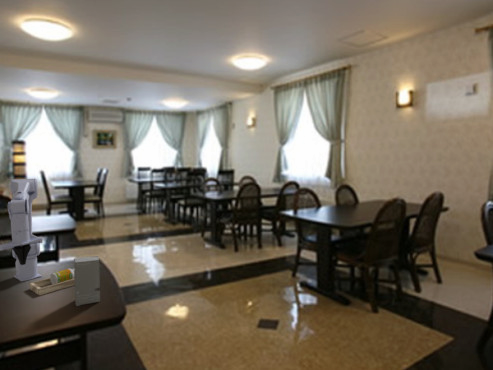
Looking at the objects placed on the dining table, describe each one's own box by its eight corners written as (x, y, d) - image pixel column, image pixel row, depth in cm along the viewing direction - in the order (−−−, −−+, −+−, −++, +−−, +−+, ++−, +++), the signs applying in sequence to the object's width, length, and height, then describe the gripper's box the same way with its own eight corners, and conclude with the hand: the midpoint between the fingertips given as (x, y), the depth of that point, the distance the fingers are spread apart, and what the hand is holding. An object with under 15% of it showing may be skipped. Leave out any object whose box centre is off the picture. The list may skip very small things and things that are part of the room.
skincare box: (75, 306, 120) (73, 263, 118) (75, 299, 126) (72, 257, 125) (101, 301, 124) (99, 259, 122) (100, 294, 130) (97, 254, 128)
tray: (29, 289, 136) (29, 283, 135) (79, 275, 151) (78, 269, 151) (39, 295, 129) (39, 289, 129) (90, 280, 144) (89, 274, 144)
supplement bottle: (57, 277, 136) (80, 270, 144) (50, 271, 139) (73, 264, 147) (55, 288, 137) (79, 281, 145) (49, 282, 140) (72, 275, 148)
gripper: (1, 235, 125) (4, 271, 126) (44, 228, 136) (46, 261, 137) (-5, 232, 129) (-2, 267, 130) (37, 226, 140) (39, 258, 142)
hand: (22, 264), depth 134 cm, fingers closed
